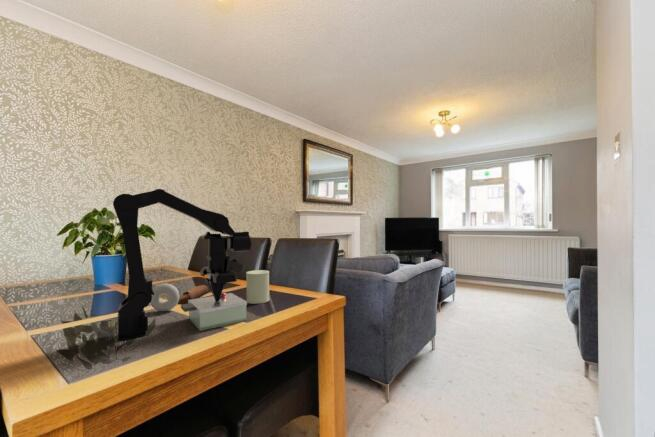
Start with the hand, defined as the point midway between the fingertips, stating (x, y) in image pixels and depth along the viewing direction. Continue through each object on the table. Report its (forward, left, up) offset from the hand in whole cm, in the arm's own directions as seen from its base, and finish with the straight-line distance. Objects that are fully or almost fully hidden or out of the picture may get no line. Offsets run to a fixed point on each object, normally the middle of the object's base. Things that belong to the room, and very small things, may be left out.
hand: (217, 300), depth 94 cm
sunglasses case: (0, +35, -7) cm, 36 cm away
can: (+20, +13, -6) cm, 25 cm away
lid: (-2, 0, -1) cm, 2 cm away
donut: (-12, +21, -6) cm, 25 cm away
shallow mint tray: (0, 0, -6) cm, 6 cm away
